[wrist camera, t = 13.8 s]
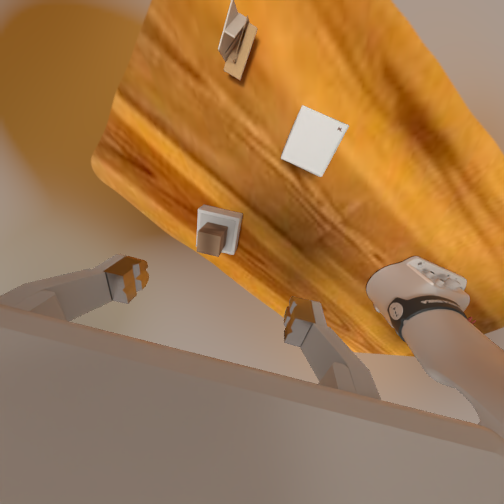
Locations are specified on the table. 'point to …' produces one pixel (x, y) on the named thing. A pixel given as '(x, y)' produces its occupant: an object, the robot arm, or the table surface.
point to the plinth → (224, 219)
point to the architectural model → (236, 41)
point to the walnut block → (211, 239)
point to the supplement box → (313, 141)
